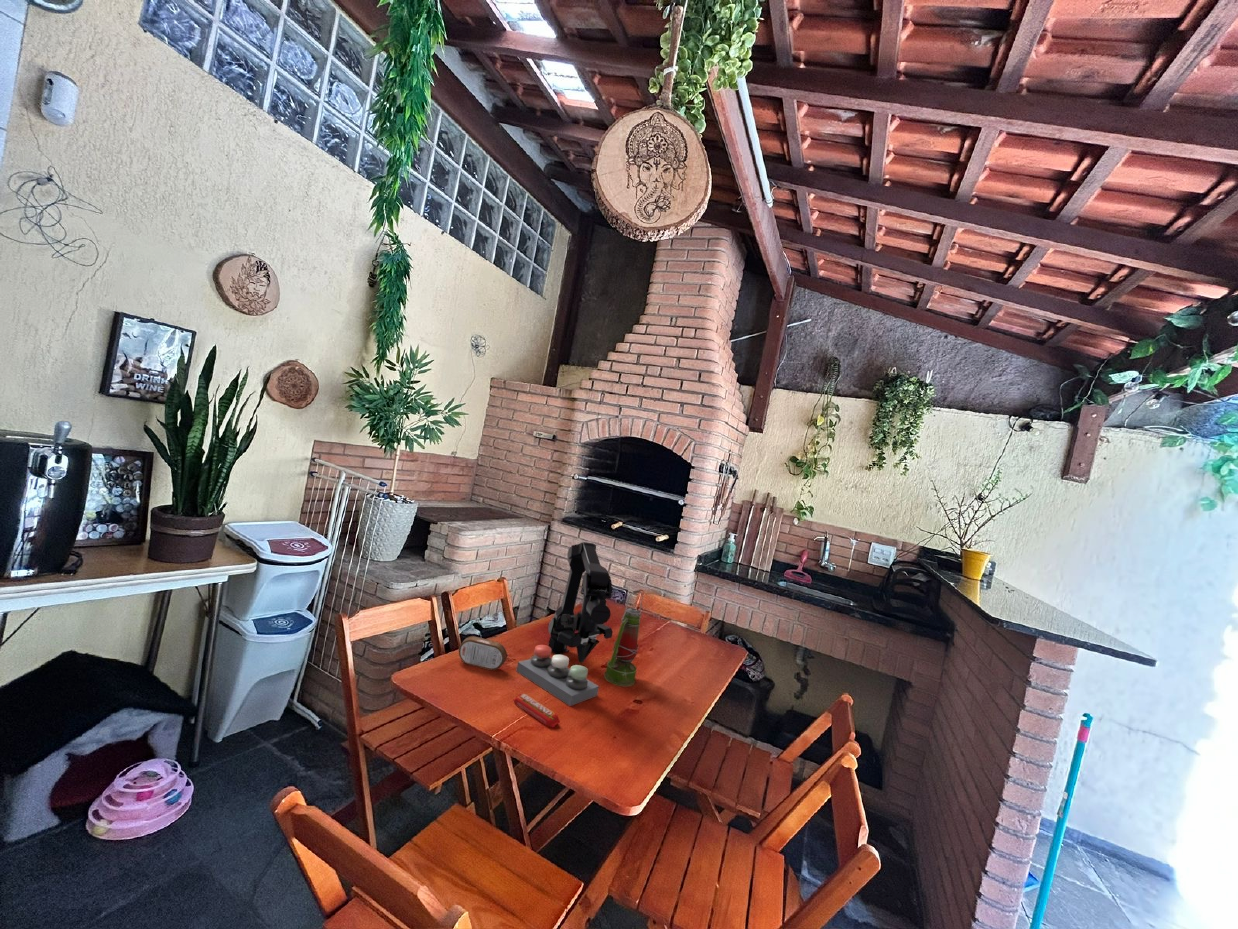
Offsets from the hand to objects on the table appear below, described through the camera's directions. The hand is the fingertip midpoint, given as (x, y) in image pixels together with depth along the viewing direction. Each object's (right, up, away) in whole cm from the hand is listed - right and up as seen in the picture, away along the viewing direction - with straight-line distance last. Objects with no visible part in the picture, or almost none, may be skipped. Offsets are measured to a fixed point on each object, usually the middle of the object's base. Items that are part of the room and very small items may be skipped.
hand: (580, 662), depth 157 cm
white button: (-7, -3, +5) cm, 9 cm away
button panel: (-8, -8, +5) cm, 13 cm away
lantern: (+12, -12, +17) cm, 24 cm away
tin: (-32, -4, +7) cm, 33 cm away
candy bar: (-11, -9, -15) cm, 21 cm away
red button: (-13, -1, +10) cm, 16 cm away
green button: (-1, -4, 0) cm, 4 cm away
